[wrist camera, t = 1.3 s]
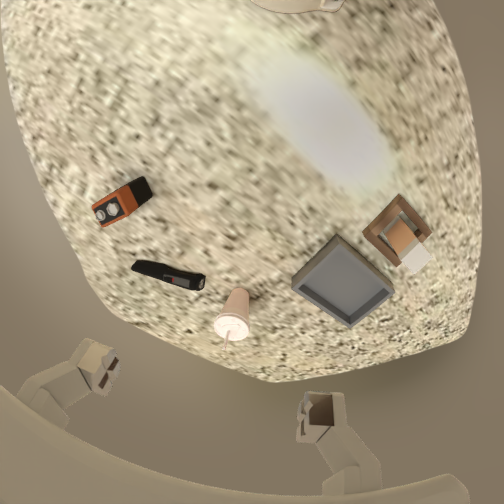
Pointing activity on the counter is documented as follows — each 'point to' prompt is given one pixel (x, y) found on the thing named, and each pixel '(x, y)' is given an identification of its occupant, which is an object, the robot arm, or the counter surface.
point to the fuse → (407, 245)
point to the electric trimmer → (170, 275)
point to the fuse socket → (386, 218)
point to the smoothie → (234, 317)
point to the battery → (122, 202)
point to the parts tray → (342, 283)
